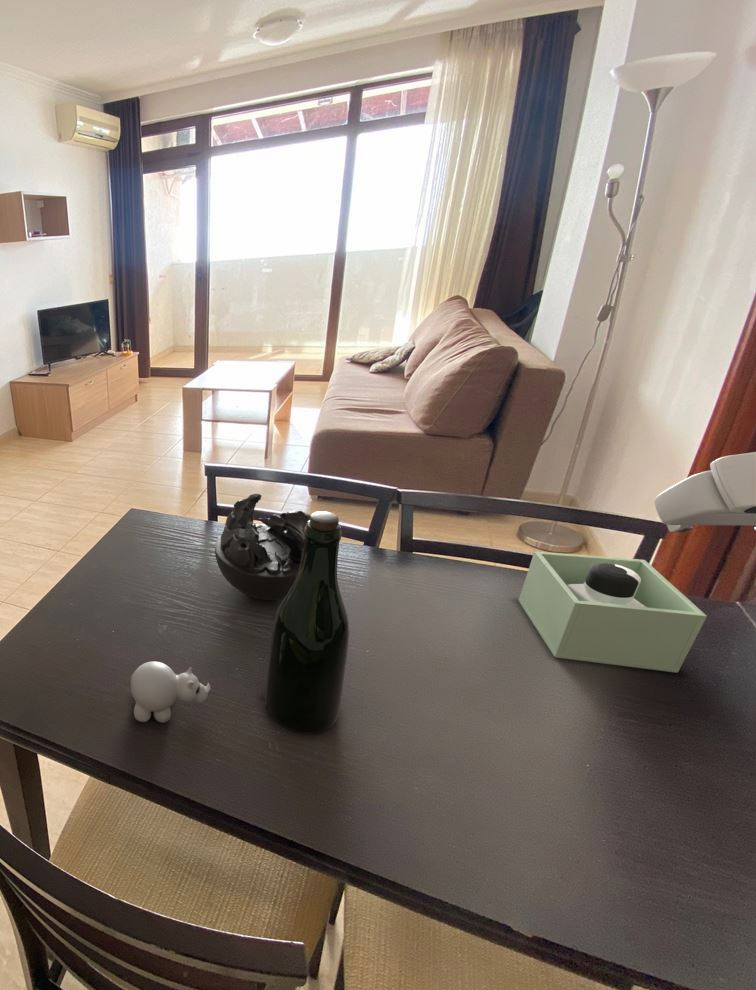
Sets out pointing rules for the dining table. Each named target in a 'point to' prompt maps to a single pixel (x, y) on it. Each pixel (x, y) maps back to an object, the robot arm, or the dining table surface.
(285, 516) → the coal bowl
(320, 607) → the beer bottle
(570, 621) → the open storage box
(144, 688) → the chubby cartoon animal
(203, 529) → the dining table surface
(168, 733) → the dining table surface
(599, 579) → the medicine bottle
